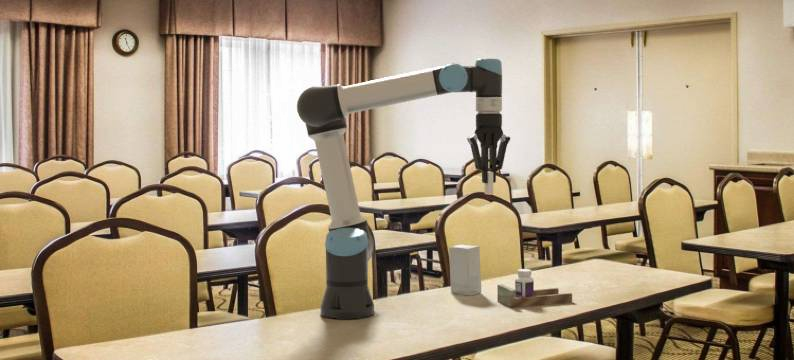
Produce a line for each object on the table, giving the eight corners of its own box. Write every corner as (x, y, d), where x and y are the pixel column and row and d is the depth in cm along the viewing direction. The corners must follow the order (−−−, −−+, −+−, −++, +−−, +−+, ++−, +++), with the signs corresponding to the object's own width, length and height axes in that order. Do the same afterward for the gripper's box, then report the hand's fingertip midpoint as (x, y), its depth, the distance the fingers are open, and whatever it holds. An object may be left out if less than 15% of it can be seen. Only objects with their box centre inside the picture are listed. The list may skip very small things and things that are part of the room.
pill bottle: (533, 301, 268) (533, 268, 267) (533, 304, 263) (533, 271, 262) (515, 300, 269) (515, 268, 268) (514, 304, 264) (514, 271, 263)
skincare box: (481, 293, 279) (481, 246, 278) (468, 296, 275) (468, 248, 274) (461, 289, 285) (461, 243, 284) (448, 292, 281) (448, 245, 280)
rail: (511, 307, 259) (511, 290, 259) (497, 301, 268) (497, 284, 267) (572, 301, 266) (572, 285, 266) (556, 296, 274) (556, 279, 274)
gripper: (473, 113, 254) (473, 196, 256) (515, 112, 258) (514, 194, 260) (462, 112, 261) (463, 194, 263) (503, 112, 265) (503, 192, 267)
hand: (488, 194), depth 261 cm, fingers closed
